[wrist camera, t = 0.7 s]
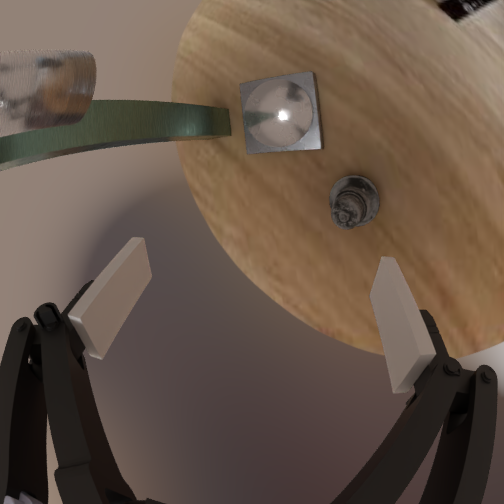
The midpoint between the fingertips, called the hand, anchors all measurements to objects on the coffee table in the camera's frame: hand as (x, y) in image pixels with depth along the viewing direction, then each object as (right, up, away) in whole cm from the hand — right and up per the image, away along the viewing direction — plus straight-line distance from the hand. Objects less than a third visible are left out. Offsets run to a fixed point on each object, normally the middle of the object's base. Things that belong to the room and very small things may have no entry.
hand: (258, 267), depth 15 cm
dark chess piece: (+13, +8, +18) cm, 23 cm away
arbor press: (0, +19, +20) cm, 27 cm away
